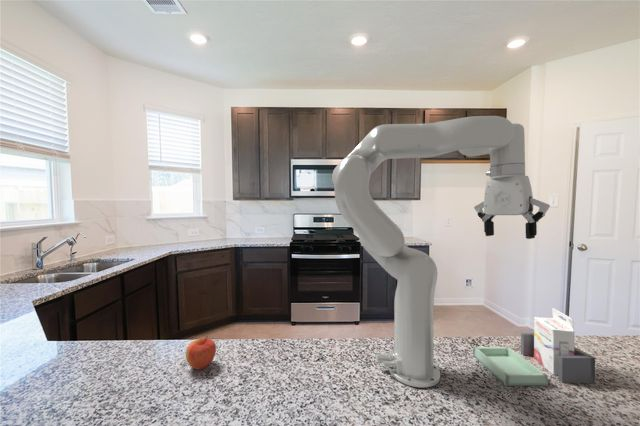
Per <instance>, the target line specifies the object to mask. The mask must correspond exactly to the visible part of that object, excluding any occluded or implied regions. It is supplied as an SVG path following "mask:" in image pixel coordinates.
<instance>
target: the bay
mask: <svg viewBox="0 0 640 426" xmlns="http://www.w3.org/2000/svg"><path fill="white" fill-rule="evenodd" d="M520 354H521V355H522V354H523V355H522V356H534V332H525V333H524V332H520ZM557 376H558V377H557V378H558V381H559V382H560V383H562V384H564V383H565V384H568V383H569V384H570V383H571V384H572V383H574V384H576V383H580V384H581V383H583V384H586V383H591V384H592V383H596V357H594V356H592V355H591V354H589V353H587V352H585V351H583V350H581V349H579V348H578V347H576V346H574V356H559V374H558V375H557Z"/></svg>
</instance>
